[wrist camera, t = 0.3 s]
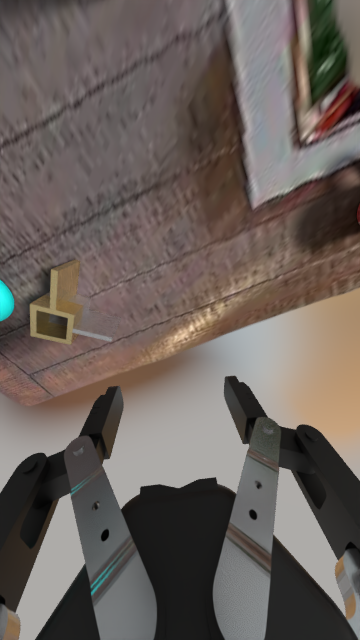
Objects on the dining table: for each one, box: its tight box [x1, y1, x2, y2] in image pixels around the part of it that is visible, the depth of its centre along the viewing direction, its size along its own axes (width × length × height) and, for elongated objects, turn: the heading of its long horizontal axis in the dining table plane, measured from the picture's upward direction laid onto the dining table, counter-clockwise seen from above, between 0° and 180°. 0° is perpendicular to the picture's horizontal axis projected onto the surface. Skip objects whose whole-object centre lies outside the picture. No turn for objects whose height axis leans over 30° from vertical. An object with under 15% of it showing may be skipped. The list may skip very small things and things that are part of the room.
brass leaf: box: [30, 260, 84, 345], centre depth 28 cm, size 12×6×7 cm, turn 159°
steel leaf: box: [45, 292, 121, 341], centre depth 30 cm, size 6×12×7 cm, turn 69°
